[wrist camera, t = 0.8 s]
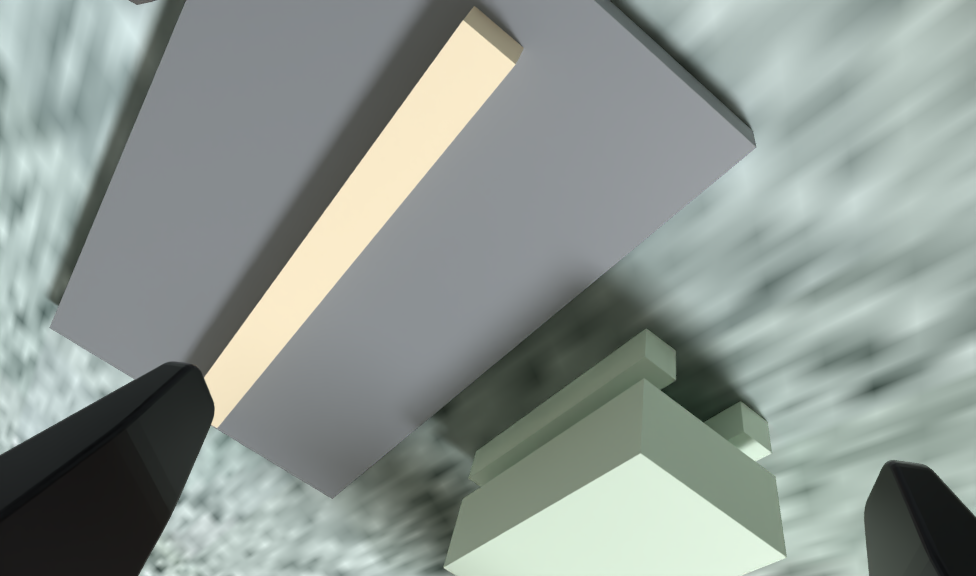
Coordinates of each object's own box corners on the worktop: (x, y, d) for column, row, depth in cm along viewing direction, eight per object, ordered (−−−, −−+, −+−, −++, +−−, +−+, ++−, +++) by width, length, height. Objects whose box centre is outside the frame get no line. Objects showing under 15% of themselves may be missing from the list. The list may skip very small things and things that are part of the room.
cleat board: (752, 131, 19) (761, 168, 17) (340, 481, 33) (322, 521, 31) (316, -267, 15) (272, -270, 14) (65, 312, 29) (28, 347, 28)
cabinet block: (767, 420, 25) (786, 557, 21) (570, 526, 31) (554, 648, 27) (646, 326, 24) (640, 453, 19) (465, 457, 30) (431, 574, 26)
